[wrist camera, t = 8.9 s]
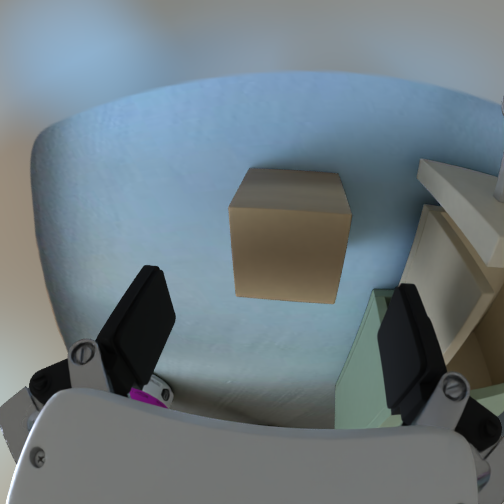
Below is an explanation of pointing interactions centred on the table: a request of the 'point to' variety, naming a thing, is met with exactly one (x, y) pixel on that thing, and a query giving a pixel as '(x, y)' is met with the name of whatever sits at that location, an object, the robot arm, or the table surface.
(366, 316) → the cabinet
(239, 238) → the block
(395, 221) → the table surface
